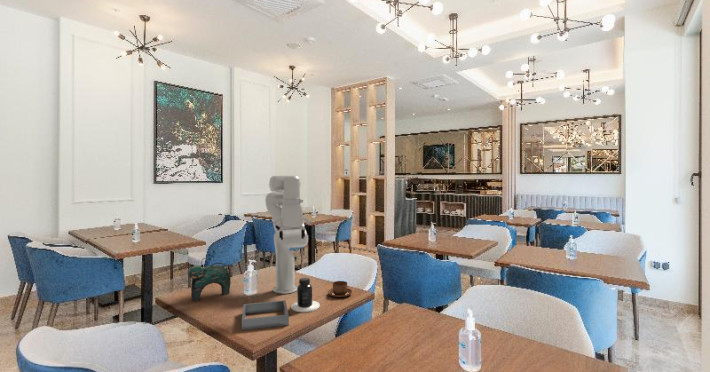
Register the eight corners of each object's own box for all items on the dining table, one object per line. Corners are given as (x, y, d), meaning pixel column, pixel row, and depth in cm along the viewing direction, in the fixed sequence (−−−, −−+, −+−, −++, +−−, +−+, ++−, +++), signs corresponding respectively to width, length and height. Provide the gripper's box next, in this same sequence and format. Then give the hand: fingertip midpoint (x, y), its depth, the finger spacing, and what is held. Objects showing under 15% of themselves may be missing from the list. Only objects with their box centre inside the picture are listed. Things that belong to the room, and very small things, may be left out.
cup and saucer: (356, 293, 183) (356, 281, 183) (343, 300, 173) (343, 288, 173) (337, 289, 189) (337, 278, 189) (323, 296, 179) (323, 284, 179)
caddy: (243, 313, 157) (243, 304, 157) (285, 309, 162) (285, 300, 162) (241, 330, 140) (241, 320, 140) (288, 325, 145) (288, 315, 145)
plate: (289, 303, 169) (289, 301, 169) (317, 300, 172) (317, 299, 172) (292, 313, 156) (292, 312, 156) (322, 310, 160) (322, 308, 160)
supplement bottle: (315, 303, 166) (314, 277, 166) (308, 308, 160) (308, 281, 160) (301, 301, 169) (301, 276, 168) (294, 306, 162) (294, 280, 162)
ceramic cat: (190, 303, 170) (189, 261, 170) (186, 299, 175) (185, 258, 175) (232, 294, 183) (231, 255, 182) (227, 291, 188) (226, 253, 187)
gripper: (309, 201, 174) (309, 236, 175) (272, 202, 170) (273, 238, 170) (311, 202, 167) (311, 239, 168) (273, 203, 162) (273, 241, 163)
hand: (292, 238), depth 169 cm, fingers open, 9 cm apart
